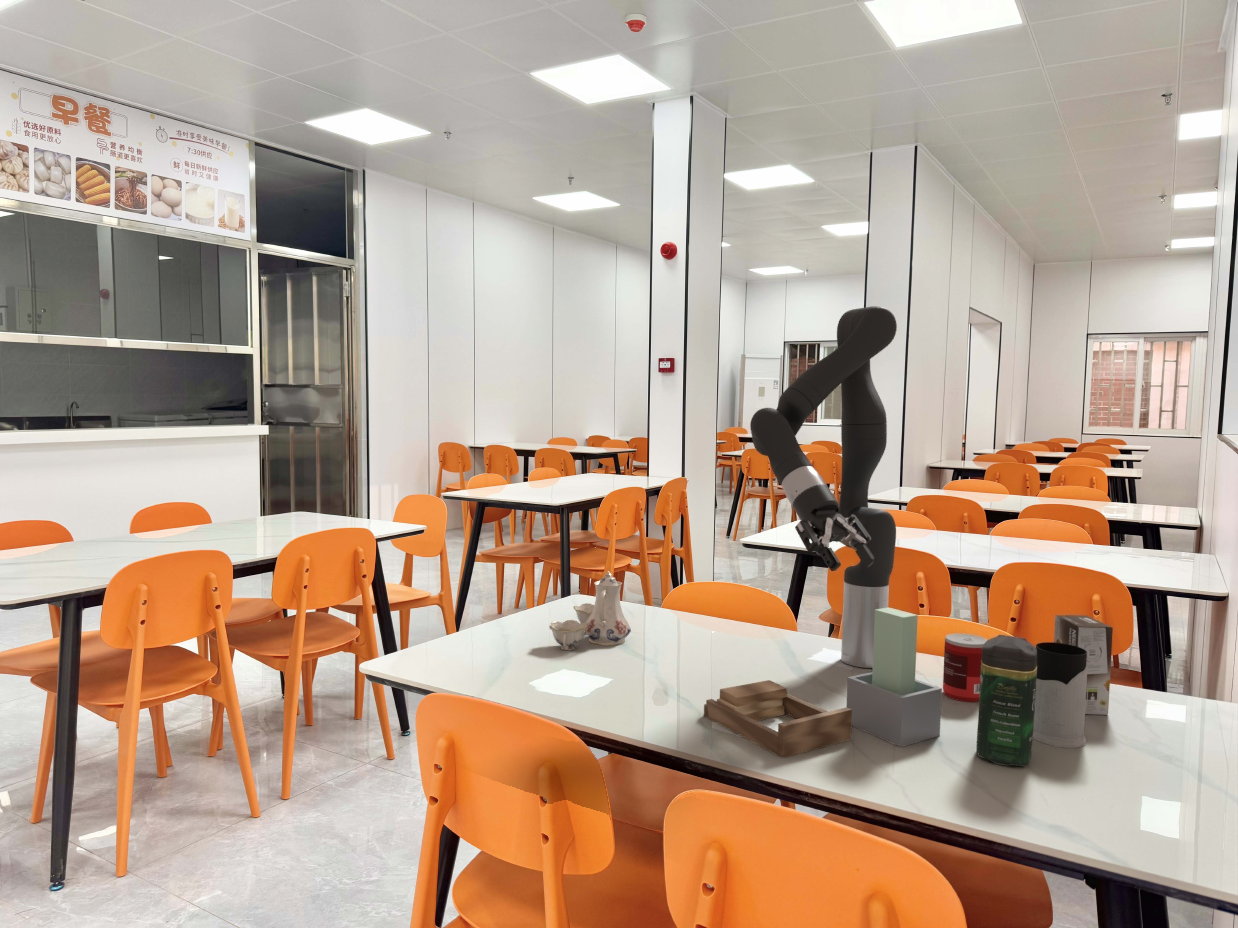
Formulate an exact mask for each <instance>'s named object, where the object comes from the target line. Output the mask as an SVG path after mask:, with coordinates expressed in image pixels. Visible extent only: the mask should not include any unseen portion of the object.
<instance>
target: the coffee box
mask: <svg viewBox="0 0 1238 928" xmlns="http://www.w3.org/2000/svg"><path fill="white" fill-rule="evenodd" d="M1113 629H1114V627H1113V626H1111V625H1108V624H1107V623H1104V622H1102V621H1099V620H1097V619H1095V618H1093V617H1091V616H1088V615H1084V614H1082V615H1081V614H1065V615H1063V614H1062V615H1061V614H1054V635H1053V636H1054V638H1053V642H1054V643H1063V644H1069V645H1073V646H1077V647H1080V648H1083V649H1085V650H1086V651H1087V662H1086V667H1087V685H1086V703H1085V715H1101V716H1107V715H1109V709H1110V708H1109V705H1110V685H1111V669H1112V667H1111V665H1112V651H1113V650H1112V649H1113Z"/></svg>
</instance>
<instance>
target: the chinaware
mask: <svg viewBox="0 0 1238 928" xmlns="http://www.w3.org/2000/svg"><path fill="white" fill-rule="evenodd" d="M593 584H594V587H595V601H594V604H592V603H589V602H588V603H586V602H585V603H582V604H580V605H579V606H578V605H574V606H573V610H574V611H575V612H576V617H577V619H578V621H579V622H578V621H577V620H572V619H568V620H565V621H563V622H562V621H558V620H556V621H552V622H551V623H550V625H549V626H548V627H549V630H551V632H552V635H553V638H554V640H555V642H556V643H557V644H558V645H560V647H559V649H560V648H561V649H562V650H564V651H573V650H575V649H576V647H575V646H577V645H578V644H579V643H580V642H581V641H582V640H583V638H584V635H585V633H586V634H587V636H588V637H589V639H588V642H589V643H591V644H594V645H598V646H606V647H607V646H619V645H623V644H624V643H625V642H626V638H627V637H628V636H629V635H630V633H632V632H631V631H632V630H631V629H632V628H631V625H630V623H629V622H628V620H627V618H626V617H625V615H624V612H623V609H622V606H621V598H620V597H621V594H620V593H621V588H622V584H623V582H621V581H617V580H616V577H614V576H612V574H611V572H610V571H609V570H608V571H606V573H604V576H602V577H601V578H600V580H599V581H595V582H593Z"/></svg>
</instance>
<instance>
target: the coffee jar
mask: <svg viewBox="0 0 1238 928" xmlns="http://www.w3.org/2000/svg"><path fill="white" fill-rule="evenodd" d="M981 659H982V660H981V676H980V695H979V701H978V715H977V716H978V717H977V719H978V720H977V729H976V730H977V731H976V752H977V754H978V756H979V757H980V758H983V759H985V760H988V761H990V762H993V763H994V764H996V765H1000V766H1006V767H1007V766H1019V767H1023V766H1026V765H1028V764H1029V762H1030V761H1031V759H1032V755H1033V741H1034V739H1033V726H1034V713H1035V700H1036V680H1037V649H1036V645H1033V643H1031V642H1030V641H1028V640H1027V639H1026V638H1024V637H1019V636H1014V635H1013V636H1012V635H1006V634H998V635H997V636H994V637H991V638H989V639H987V641H986V642H985V644H984V645H983V648H982V658H981Z"/></svg>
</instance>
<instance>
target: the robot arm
mask: <svg viewBox="0 0 1238 928" xmlns="http://www.w3.org/2000/svg"><path fill="white" fill-rule="evenodd" d="M897 325H898V323H897V320H896V317H895V315H894V313H893V312H892V311H891V310H890V309H888V308H886V307H885V306H877V305H876V306H875V305H873V306H865V307H860V308H854V309H850V310H847V311H845V312H844V313H843V314H842V315H841V317H839V320H838V323H837V327H836V343H837V348H836V349H834V351H832V352H831V353H829V354H828V355H826V356H825V357H824V358H822V359H820V360H819V361H818V362H815V363H814V364H812V365H811V366H810V367H808V368H807V369H806V370H805V371H803V372H802V373H801V374H800V375H799V376H798V377H797V378H796V379H795V380H793V382H792V383H791V384H790V385H789V386H788V387H787V388H786V389H785V390H784V391H783V392H782V393H781V395H780V396H779V398H778V401H777V402H778V403H777V407H776V409H775V408H773V407H763V408H760V409H758V410H757V411H755V412H754V414H753V415H752V417H751V420H750V426H749V427H750V433H751V438H752V444H753V447H754V448H755V450H756V452H757V453H758V454H760V455H762V456H765V457H767V459H768V460H769V465H770V468H771V471H772V473H773V474H774V476H775V478H776V480H777V482H778V483H779V484H780V486H781V488H782V490H783V492H784V494H785V496H786V498H787V500H788V502H789V504H790V505H791V507H792V509H793V510H794V511H795V513H796V515H797V516H798V518H799V519H800V520H799V522H797V524H796V526H794V527H795V528H794V529H795V531H796V532H797V534H798V535H799V538H800V540H801V542H802V544H803V545H804V547H805V549H806V551H807V552H808V553H810V554H813V552H814V553H816V554H817V555H818V556H820V557H821V558H822V560H823V562H824V563H825V565H826V566H827V568H828V569H829V570H830V571H831V572H836V571H837V570H838V569H839V568H840V567H841V566H842V565H841V564H842V563H841V561H840V560H839V558H838V556H837V554H836V553H835V551H834V550H833V548H832V547H830V543H833V542H836V543H841V544H842V545H844V546H846V547H847V548H850V549H853V550H854V552H855V553H856V555H857V556H858V558H859V559H860V560H859V562H858V563H857V564H854V565H849V566H847V567H846V568H845V570H844V574H843V600H842V601H843V602H842V603H843V604H842V625H841V626H842V627H841V630H842V631H841V648H840V649H841V655H840V657H841V658H840V660H841V662H843V663H844V664H847V665H849V666H852V667H853V666H854V667H858V668H866V669H867V668H868V669H873V643H874V618H875V610H876V609H882V608H889V590H890V577H891V575H892V572H893V569H894V564H895V563H894V561H895V554H896V553H895V552H896V542H897V541H896V540H897V526H896V522H895V519H894V516H893V515H892V513H890V512H889V511H888V510H884V509H881V508H880V509H879V508H872V507H869V486H870V481H871V478H872V477H873V474H874V472H875V471H876V469H877V467H878V465H879V463H880V462H881V460H882V458H883V456H884V453H885V450H886V448H887V437H888V435H887V434H888V432H887V431H888V429H887V428H888V424H887V423H888V421H887V413H886V409H885V406H884V403H883V401H882V399H881V397H880V395H879V392H878V391H877V389H876V386H875V383H874V381H873V378H872V373H871V372H872V371H871V359H872V358H874V357H875V356H877V354H879V353H881V352H882V351H884V349H886V348H887V347H888V346H890V345H891V343H892V342H893V340H894V339H895V336H896V335H897V330H898V329H897V328H898V326H897ZM838 386H840V392H841V394H840V396H841V397H840V398H841V401H840V402H841V418H840V419H841V420H840V421H841V422H840V424H841V425H840V429H841V433H840V435H841V439H840V440H841V480H840V481H841V482H840V492H839V493H840V494H839V502H838V500H837V499H836V497H835V495H834V494H833V493H832V491H831V489H830V488H829V486H828V485H827V483H826V482H825V480H824V479H823V477H822V476H821V474H820V473H819V472H818V471H817V470H816V469H815V467H814V466H813V464H812V463H811V461H810V459H809V458H808V456H807V455H806V454H805V452H804V451H803V450H802V448H801V446H800V444H799V442H798V439H797V437H796V436H797V434H798V432H799V431H800V430H801V428H802V426H803V425H804V423H805V421H806V419H808V417H809V416H811V415H812V414H813V413H814V411H816V409H817V408H818V407H819V406H821V404H822V403H823V402H824V401H825V400H826V399H827V397H829V396H830V395H831V394H832V393H833V392H834V391H835V390H836V389H837V388H838ZM810 541H811V542H810Z"/></svg>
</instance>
